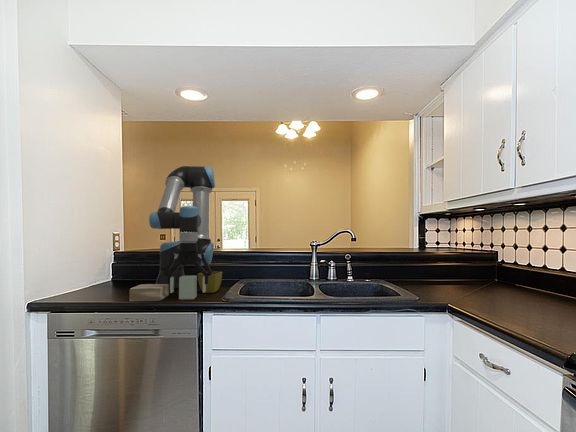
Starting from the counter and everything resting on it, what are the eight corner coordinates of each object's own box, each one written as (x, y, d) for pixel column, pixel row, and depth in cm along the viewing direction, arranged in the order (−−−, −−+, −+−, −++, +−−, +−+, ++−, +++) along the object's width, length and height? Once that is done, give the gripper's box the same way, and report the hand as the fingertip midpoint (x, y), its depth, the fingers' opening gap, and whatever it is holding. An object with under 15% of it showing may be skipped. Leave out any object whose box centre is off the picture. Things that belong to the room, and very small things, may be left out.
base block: (140, 295, 150) (141, 284, 150) (168, 295, 150) (168, 283, 150) (129, 301, 138) (129, 288, 138) (159, 300, 138) (159, 288, 138)
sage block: (182, 296, 147) (182, 275, 148) (196, 296, 148) (196, 275, 148) (178, 299, 141) (179, 277, 142) (193, 299, 142) (193, 277, 142)
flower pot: (215, 294, 153) (215, 274, 153) (197, 293, 154) (197, 273, 155) (222, 290, 161) (222, 271, 162) (205, 290, 163) (205, 271, 163)
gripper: (156, 242, 141) (155, 294, 140) (216, 242, 143) (216, 293, 141) (161, 242, 149) (161, 291, 148) (219, 241, 150) (218, 290, 149)
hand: (188, 292), depth 145 cm, fingers open, 13 cm apart
